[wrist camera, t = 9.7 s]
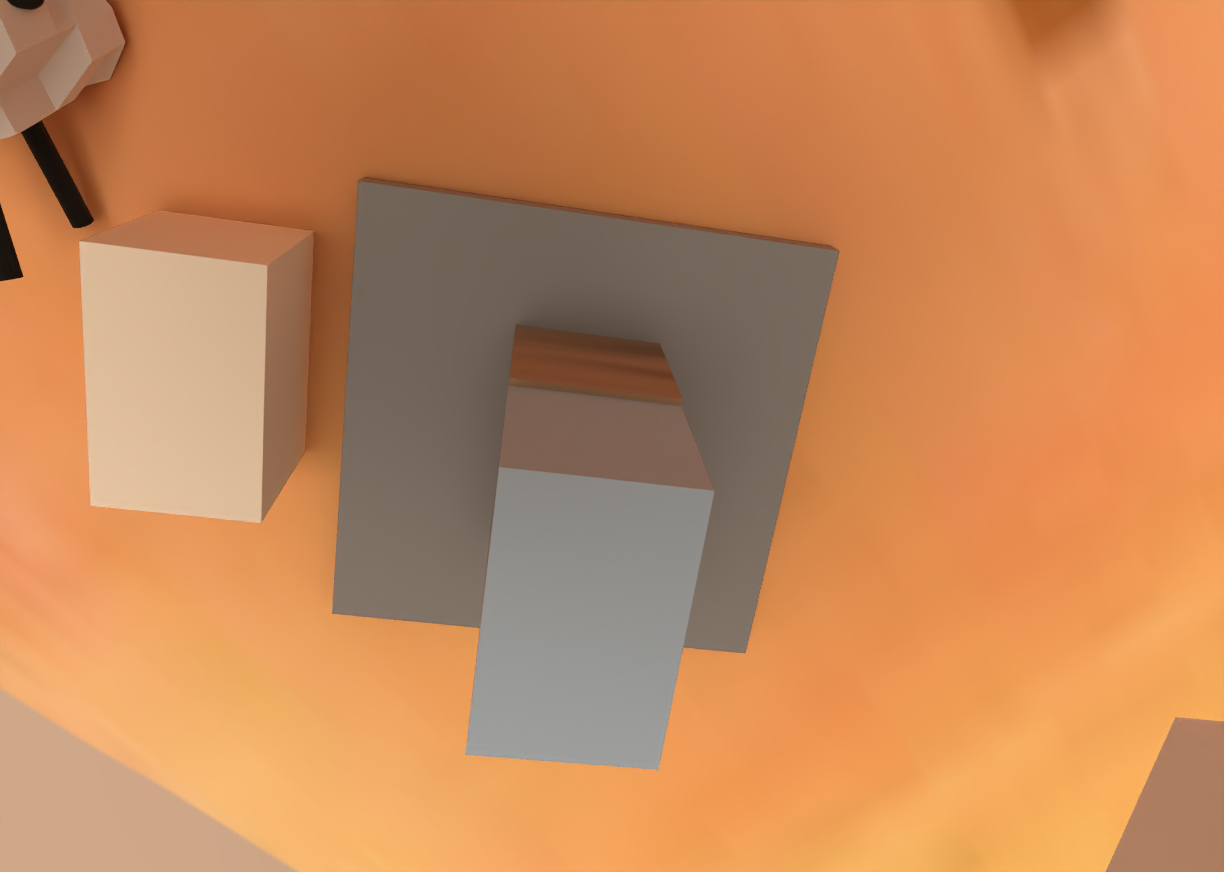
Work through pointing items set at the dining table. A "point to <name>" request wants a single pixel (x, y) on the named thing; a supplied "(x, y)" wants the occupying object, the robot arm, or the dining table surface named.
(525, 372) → the brick base
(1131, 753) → the dining table surface
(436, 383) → the build board
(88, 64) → the toy
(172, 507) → the brick
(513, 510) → the brick top
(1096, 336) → the dining table surface
